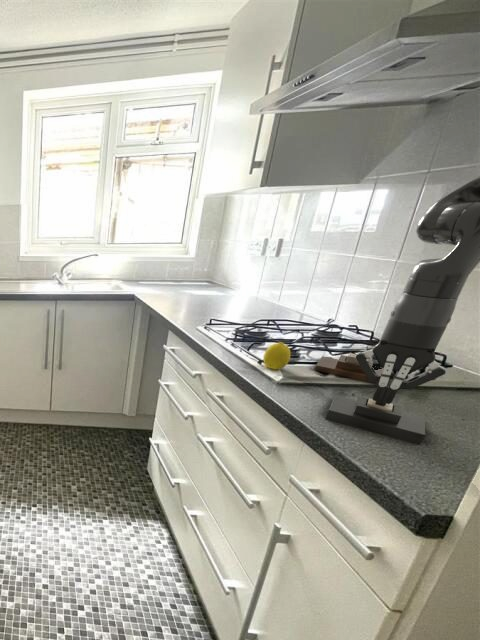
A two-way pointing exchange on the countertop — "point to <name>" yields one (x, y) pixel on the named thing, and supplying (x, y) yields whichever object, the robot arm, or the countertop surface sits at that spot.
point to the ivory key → (372, 404)
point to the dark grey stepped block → (377, 419)
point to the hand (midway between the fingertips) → (379, 403)
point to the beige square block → (352, 358)
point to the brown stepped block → (343, 368)
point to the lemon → (277, 356)
